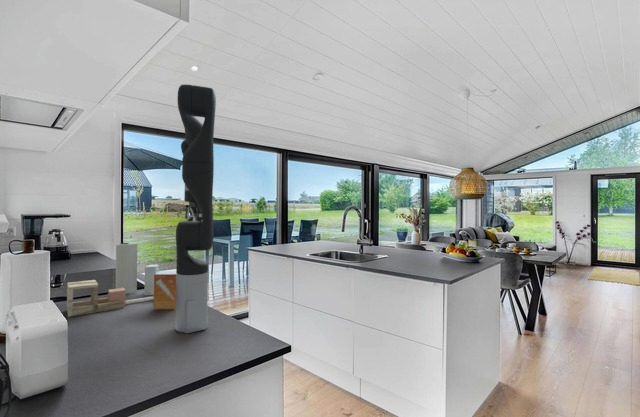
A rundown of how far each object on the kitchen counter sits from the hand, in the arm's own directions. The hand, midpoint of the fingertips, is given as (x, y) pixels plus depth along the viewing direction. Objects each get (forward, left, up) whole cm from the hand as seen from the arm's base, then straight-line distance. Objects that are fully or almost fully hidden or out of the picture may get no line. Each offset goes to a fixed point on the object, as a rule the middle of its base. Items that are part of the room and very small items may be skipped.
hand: (194, 230), depth 129 cm
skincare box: (+22, +10, -28) cm, 37 cm away
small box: (-2, +10, -28) cm, 30 cm away
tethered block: (+11, +17, -28) cm, 35 cm away
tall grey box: (+29, +19, -28) cm, 45 cm away
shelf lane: (+11, +30, -28) cm, 43 cm away
